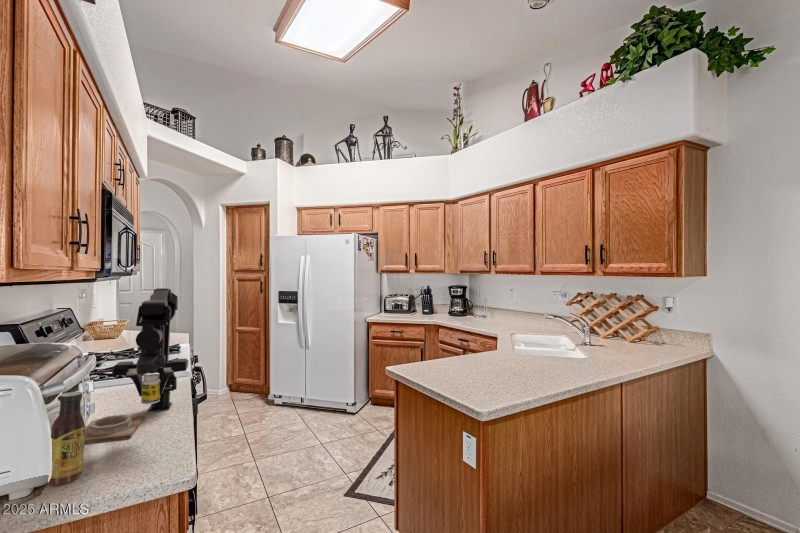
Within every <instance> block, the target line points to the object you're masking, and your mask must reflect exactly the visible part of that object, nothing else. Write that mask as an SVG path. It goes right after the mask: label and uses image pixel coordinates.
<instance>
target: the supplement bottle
mask: <svg viewBox="0 0 800 533" xmlns="http://www.w3.org/2000/svg"><path fill="white" fill-rule="evenodd" d="M160 386H161V381H160V379H159V373H152V374H150V373H144V374H143V377H142V394H141V396H140V397H141V398H140V399H141V401H140V403H141V404H142V405H151V404H154V403H157V402H159V401H160Z"/></svg>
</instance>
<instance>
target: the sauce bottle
mask: <svg viewBox="0 0 800 533" xmlns="http://www.w3.org/2000/svg"><path fill="white" fill-rule="evenodd" d="M82 398H83V393H82V392H81V391H70V392H65V393H61V394H60V395H59V404H60V405H59V411H58V414H59V415H58V416H57V418H56V419H55V420H54V422H53V424H52V426H51V433H50V437H51V438H52V462H53V469H52V476H51V479H50V481H49V483H47V484H48V485H49V486H60V485H66V484H68V483H71V482H73V481H75V480H77V479H79V477H81V475H82V471H83V464H84V451H85V444H84V439H85V427H86V425H85V420H84V418H83V416H82V412H81V411H82V410H81V402H82Z"/></svg>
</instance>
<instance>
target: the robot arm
mask: <svg viewBox="0 0 800 533" xmlns="http://www.w3.org/2000/svg"><path fill="white" fill-rule="evenodd" d="M178 297H179V296H178V295H176V294H175V293H173V292H172V289H171V288H167V287H166V288H162V287H161V288H159V287H158V288H154V289H153V293H152V294H151V295H150V298H149V299H148V300H144V301H143V302H142V303H141V305H139V307H138V311H137V318H136V323H135V327H142V328H141V331H140V332H139V333H137V335H136V337H135V343H136V345H137V347H138V348H140V354H139V357H138V359H137V361H136V363H134V362H133V360H132V361H130V360H129V361H119V362H117V363H116V364H114V366H112V367H111V376H113V377H114V376H125V377H126V378H130V379H131V380H132V382H133V383H134V385H135V389H136V390H137V393H138V396H139V397H141V394H142V382H143V375H144V374H148V373H150V374H152V373H159V379H160V381H161V386H160V401H159V402H157V403H154V404H150V406H149V407H148V409H147V412H155V411H164V410H165V411H166V410H170V408H171V406H172V405H173V402H170V401H171V392H174V391H175V390H177V389H178V386H177V385H178V383H177V382H178V379H177V377H176V375H175V373H176V372H186V371H187V369H188V367H189V359H188V358H174V359H173V360H172V361H171V362H170V361H169V357H170V356H169V354H170V337H171V336H170V335H171V334H170V333H171V322H172V320H173V318H174V317H175V316H176V312H177V311H178V310H179V298H178Z"/></svg>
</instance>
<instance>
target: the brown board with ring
mask: <svg viewBox="0 0 800 533" xmlns="http://www.w3.org/2000/svg"><path fill="white" fill-rule="evenodd" d="M144 418H145V416H144V415H139V416H132V415H127V414H116V415H107V416H104V417H100V418H97V419H94V420H91V421H90V423H88V424H87V425H85V439H84V445H85V444H93V443H101V442H111V441H117V440H119V441H120V440H126V439H128V440H129V439H131V438H132V437H133V436H134V434H135V433H136V431H137V430H138V428H139V426H140V425H141V424H142V422H143V420H144Z"/></svg>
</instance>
